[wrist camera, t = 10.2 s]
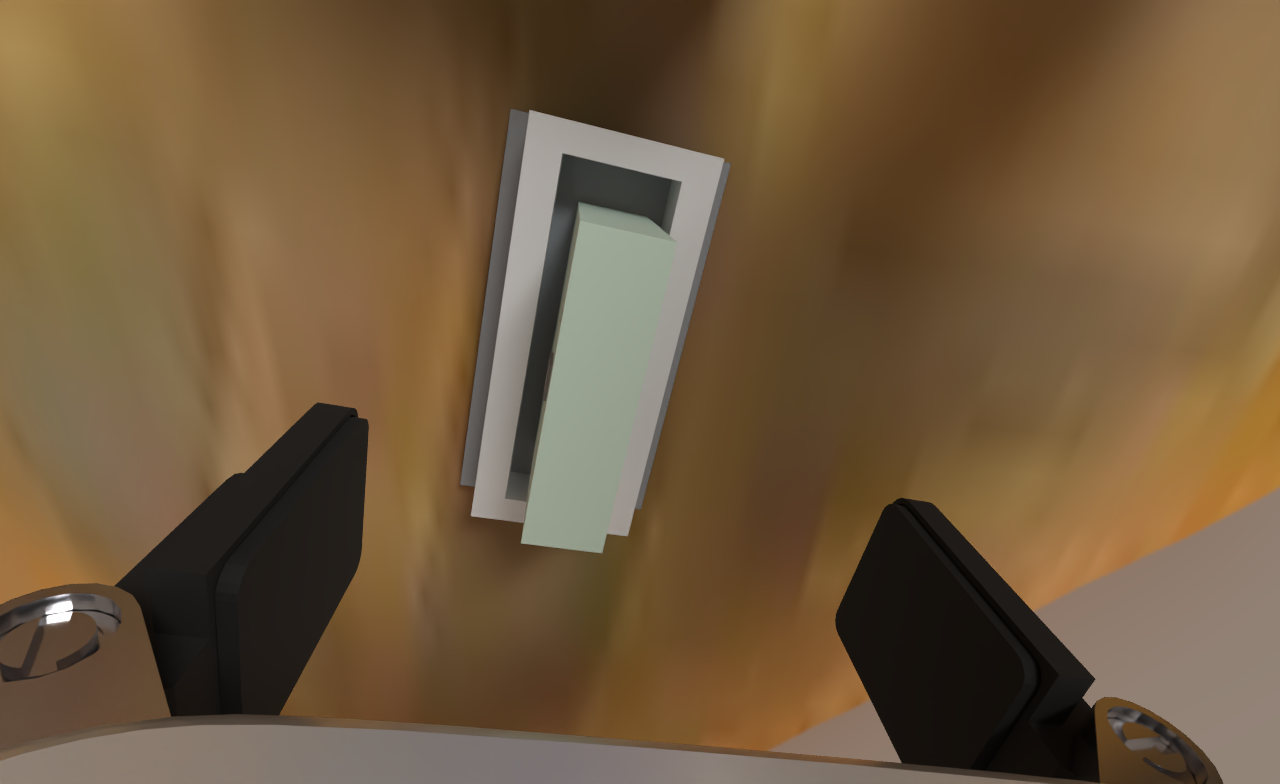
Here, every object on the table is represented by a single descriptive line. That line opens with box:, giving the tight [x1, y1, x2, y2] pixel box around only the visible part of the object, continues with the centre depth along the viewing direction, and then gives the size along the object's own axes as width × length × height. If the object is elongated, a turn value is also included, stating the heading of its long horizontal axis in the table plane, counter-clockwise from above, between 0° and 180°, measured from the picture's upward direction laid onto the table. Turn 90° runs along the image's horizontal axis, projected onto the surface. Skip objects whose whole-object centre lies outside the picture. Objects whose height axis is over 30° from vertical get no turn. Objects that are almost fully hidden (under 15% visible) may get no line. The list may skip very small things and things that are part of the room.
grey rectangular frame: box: [460, 109, 731, 536], centre depth 23 cm, size 8×15×3 cm, turn 167°
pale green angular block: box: [521, 201, 677, 553], centre depth 20 cm, size 3×10×7 cm, turn 167°
